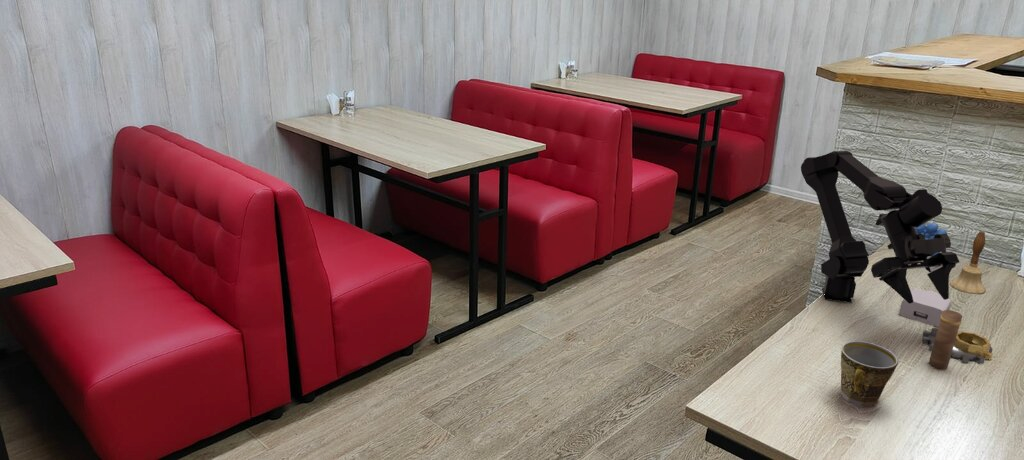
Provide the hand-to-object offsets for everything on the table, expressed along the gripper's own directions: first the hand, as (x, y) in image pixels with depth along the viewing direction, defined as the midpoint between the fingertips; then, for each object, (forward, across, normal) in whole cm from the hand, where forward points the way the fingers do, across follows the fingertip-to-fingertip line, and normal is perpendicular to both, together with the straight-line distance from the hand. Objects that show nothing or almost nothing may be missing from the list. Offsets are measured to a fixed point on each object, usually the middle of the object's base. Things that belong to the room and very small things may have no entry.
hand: (929, 301), depth 155 cm
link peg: (+13, 0, +4) cm, 14 cm away
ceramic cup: (+19, -26, -1) cm, 33 cm away
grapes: (-22, +41, +40) cm, 61 cm away
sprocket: (+9, +10, +8) cm, 16 cm away
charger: (-2, +18, +20) cm, 27 cm away
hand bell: (-9, +39, +27) cm, 48 cm away
